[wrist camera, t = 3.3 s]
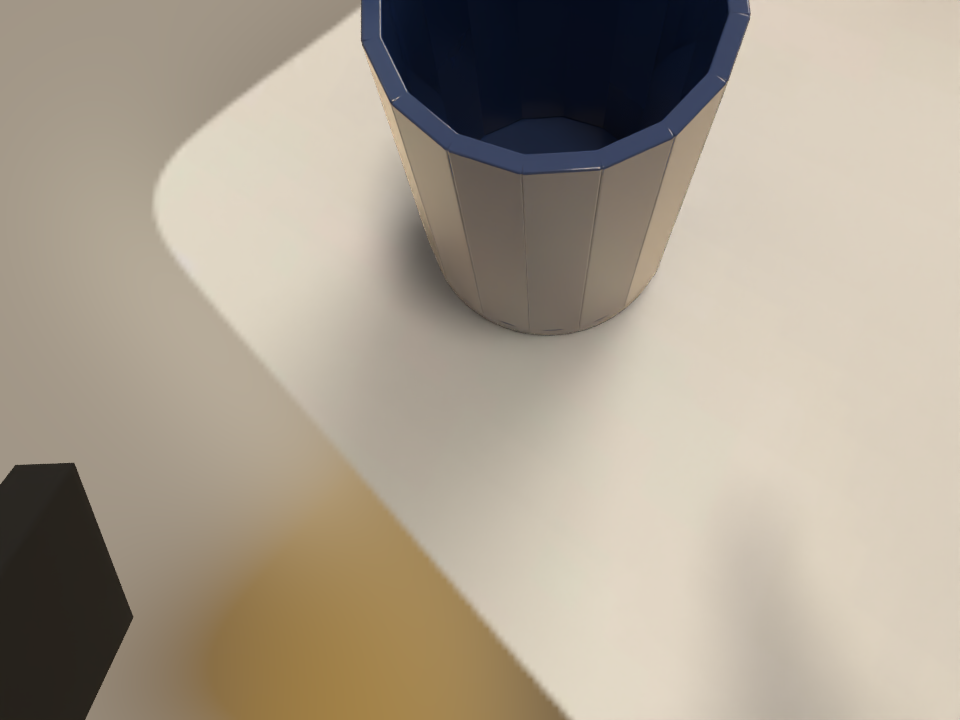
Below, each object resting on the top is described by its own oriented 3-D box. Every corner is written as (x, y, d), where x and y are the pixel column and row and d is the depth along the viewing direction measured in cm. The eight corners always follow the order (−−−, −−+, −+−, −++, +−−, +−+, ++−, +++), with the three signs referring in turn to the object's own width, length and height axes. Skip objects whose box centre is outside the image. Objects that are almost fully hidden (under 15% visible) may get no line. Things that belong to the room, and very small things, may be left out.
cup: (433, 341, 27) (360, 183, 16) (429, 123, 28) (360, -151, 18) (676, 329, 26) (768, 159, 15) (656, 108, 28) (728, -181, 17)
